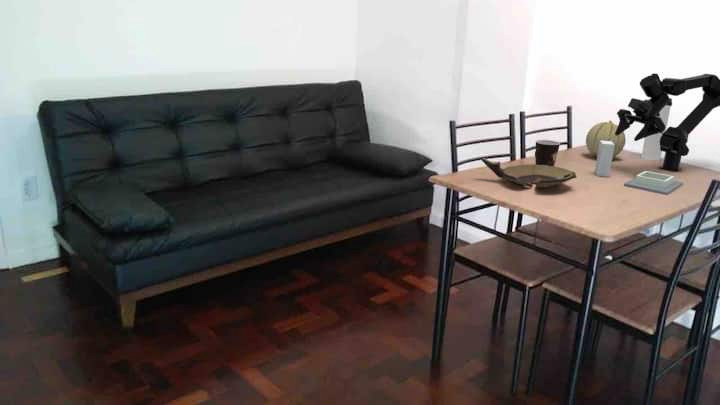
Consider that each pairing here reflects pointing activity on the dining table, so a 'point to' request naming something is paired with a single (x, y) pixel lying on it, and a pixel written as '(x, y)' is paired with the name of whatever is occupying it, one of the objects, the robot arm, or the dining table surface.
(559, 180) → the oil lamp
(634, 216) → the dining table surface
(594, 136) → the cantaloupe
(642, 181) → the collar board
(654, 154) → the white tall block
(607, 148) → the skincare box
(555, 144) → the coffee mug
